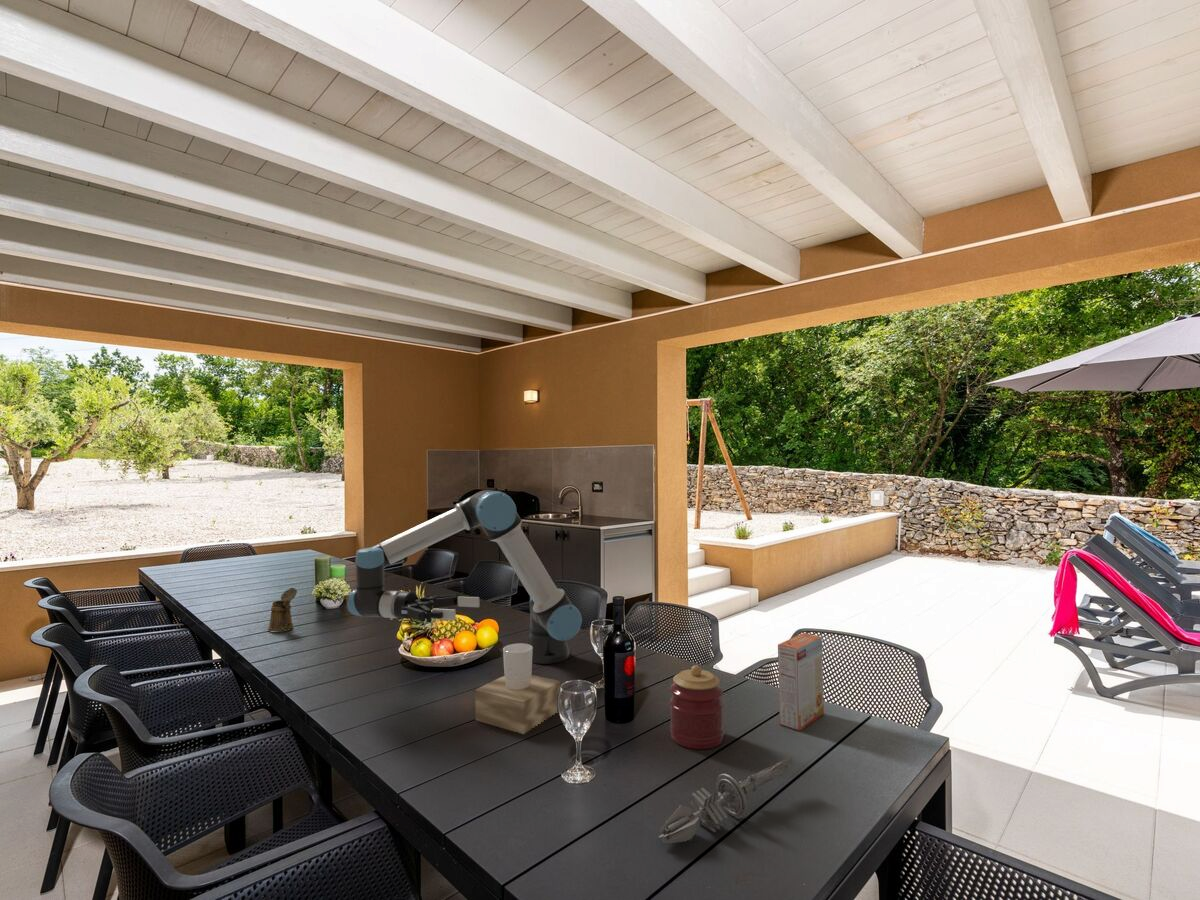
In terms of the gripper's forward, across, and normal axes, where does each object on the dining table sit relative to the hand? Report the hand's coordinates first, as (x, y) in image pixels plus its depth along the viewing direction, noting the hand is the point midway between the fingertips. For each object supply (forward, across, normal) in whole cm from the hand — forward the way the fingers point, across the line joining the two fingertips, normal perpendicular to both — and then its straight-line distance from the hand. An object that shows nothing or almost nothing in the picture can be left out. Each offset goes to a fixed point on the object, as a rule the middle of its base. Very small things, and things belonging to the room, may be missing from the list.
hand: (467, 608), depth 163 cm
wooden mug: (-110, -50, -27) cm, 123 cm away
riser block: (+15, 0, -28) cm, 31 cm away
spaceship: (+72, +31, -29) cm, 84 cm away
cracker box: (+88, -16, -29) cm, 94 cm away
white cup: (+15, 0, -20) cm, 25 cm away
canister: (+62, +1, -29) cm, 68 cm away
